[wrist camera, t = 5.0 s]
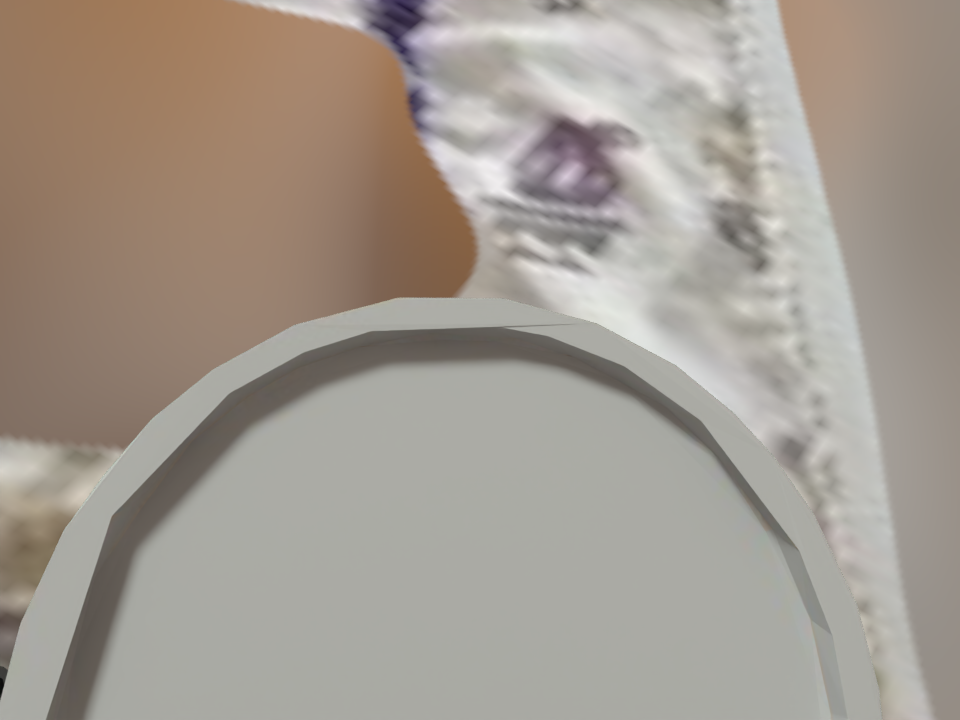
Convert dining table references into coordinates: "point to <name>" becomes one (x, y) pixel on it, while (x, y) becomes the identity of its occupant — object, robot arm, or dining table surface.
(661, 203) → the dining table surface
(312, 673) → the disposable coffee cup
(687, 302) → the dining table surface
